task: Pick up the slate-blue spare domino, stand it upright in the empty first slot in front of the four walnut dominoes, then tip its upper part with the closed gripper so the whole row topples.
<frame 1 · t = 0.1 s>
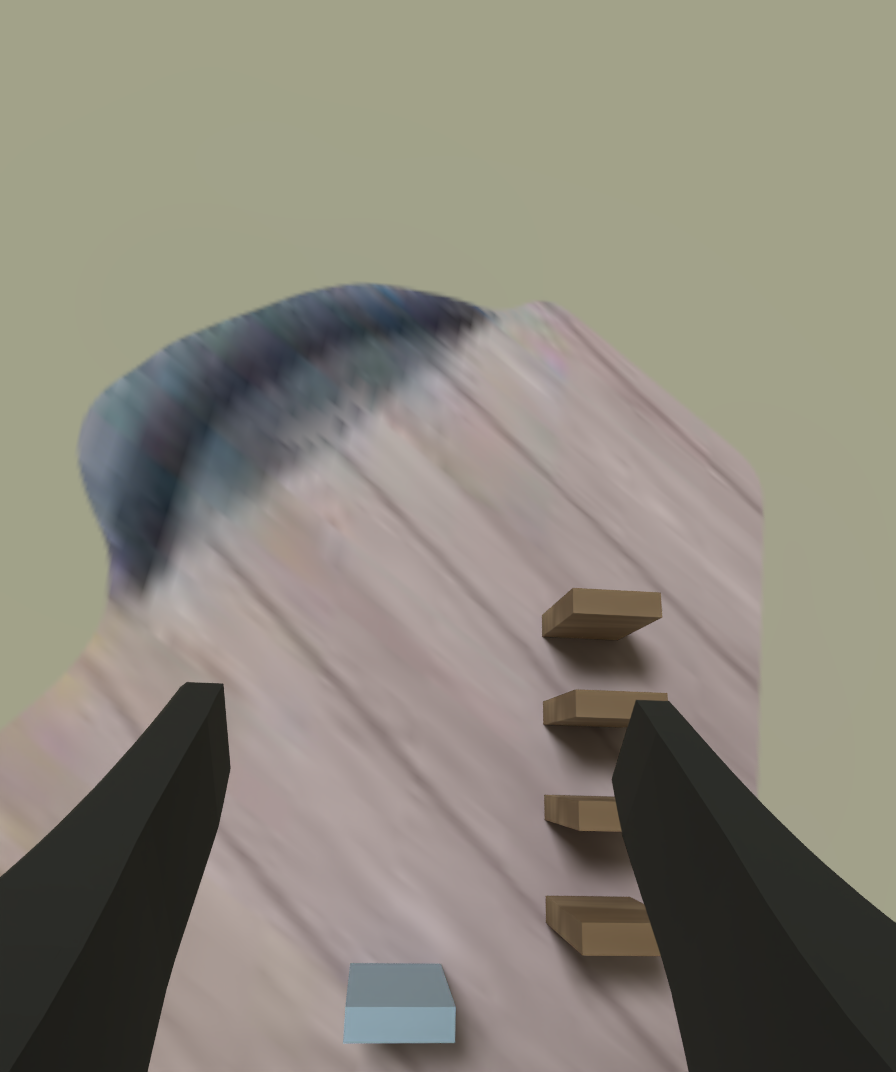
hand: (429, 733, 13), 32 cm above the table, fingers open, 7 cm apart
domino 5: (579, 627, 46), on the table
domino 4: (582, 714, 45), on the table
domino 2: (588, 909, 41), on the table
domino 3: (585, 808, 43), on the table
spare domino: (395, 978, 39), on the table
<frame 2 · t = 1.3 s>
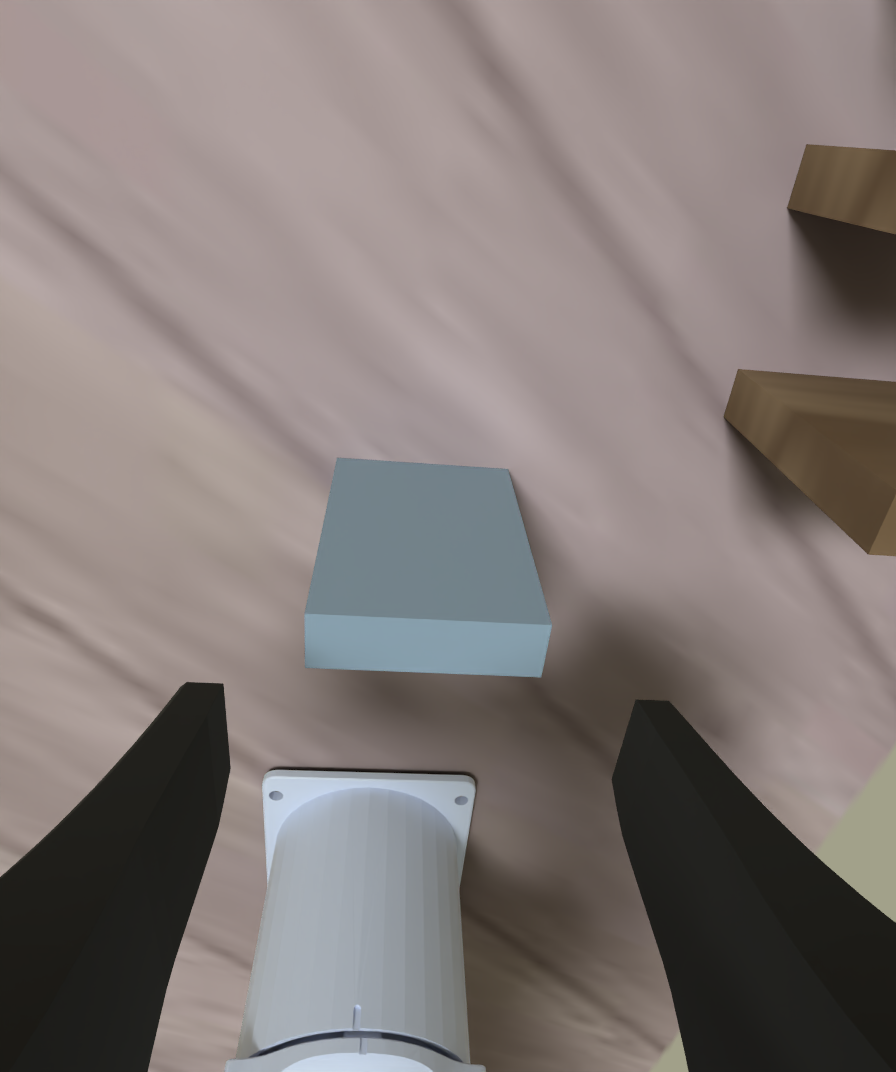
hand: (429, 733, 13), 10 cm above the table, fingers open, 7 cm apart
domino 2: (814, 399, 20), on the table
domino 3: (892, 187, 18), on the table
spare domino: (421, 485, 21), on the table
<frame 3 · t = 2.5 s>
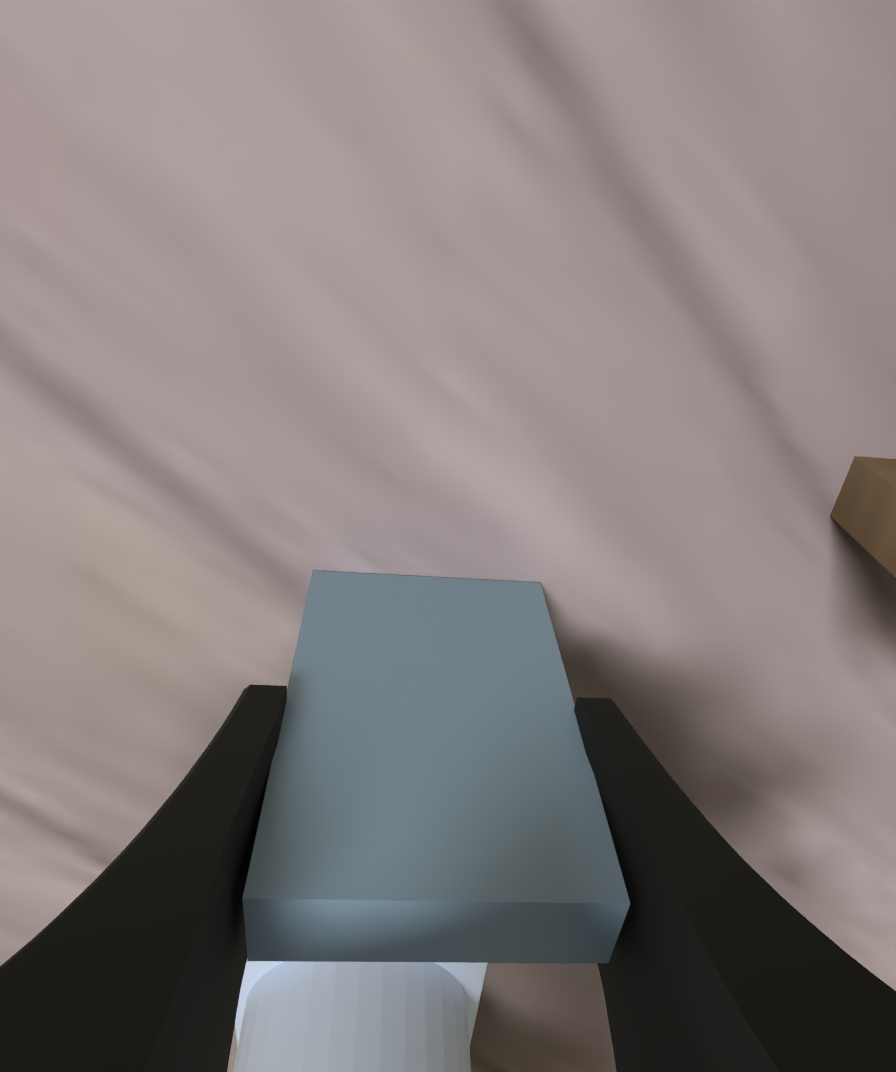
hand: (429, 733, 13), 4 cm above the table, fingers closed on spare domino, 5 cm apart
spare domino: (425, 602, 16), on the table, touching gripper
when the fingers open (5 cm above the table, at t = 5.7 s): spare domino moves 2 cm and tips over, point 1 cm above the table.
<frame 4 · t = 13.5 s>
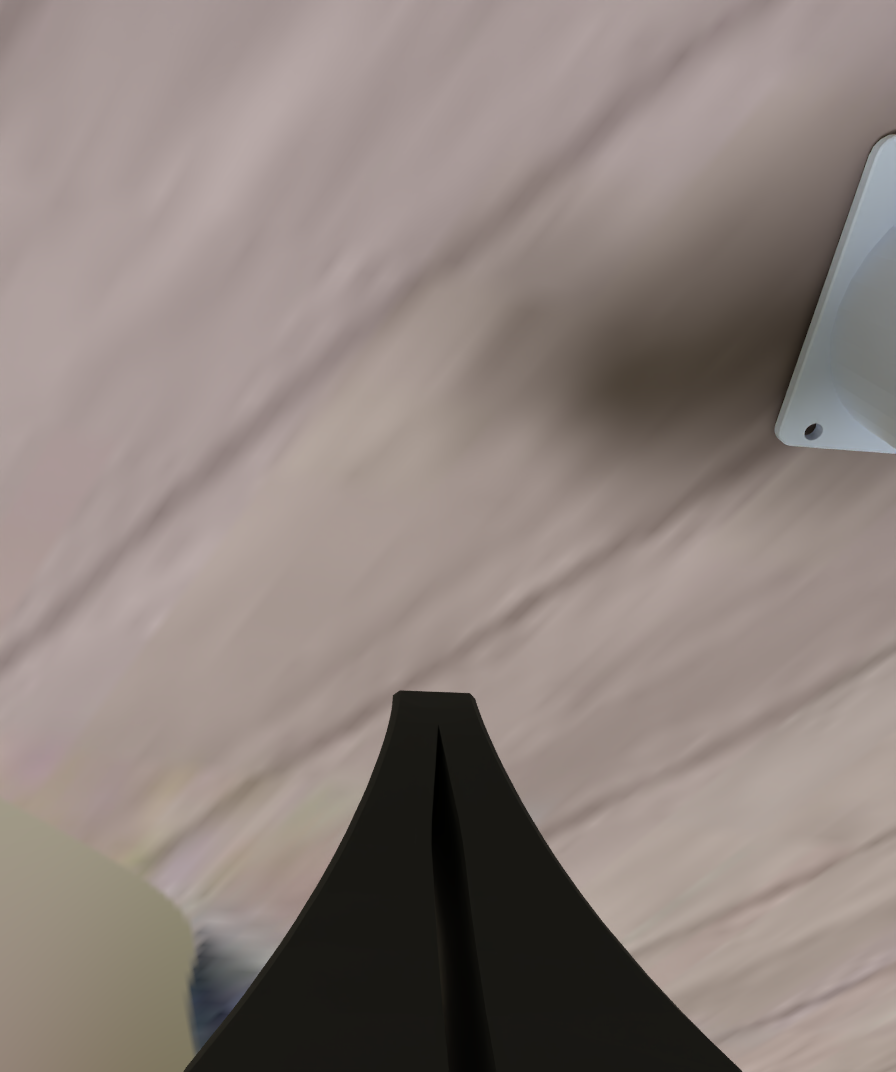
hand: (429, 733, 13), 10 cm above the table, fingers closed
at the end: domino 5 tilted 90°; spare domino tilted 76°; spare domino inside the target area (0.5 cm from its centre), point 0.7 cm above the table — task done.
